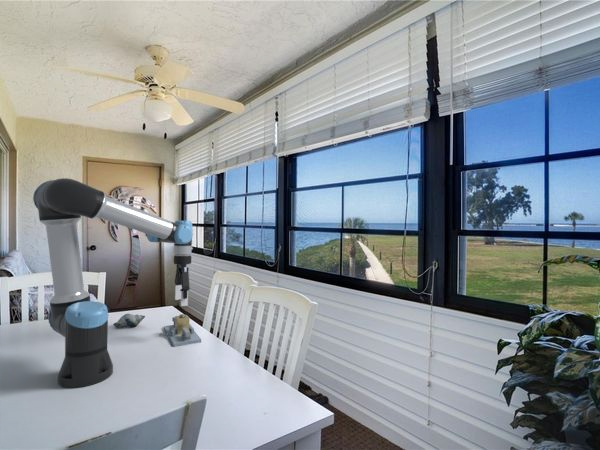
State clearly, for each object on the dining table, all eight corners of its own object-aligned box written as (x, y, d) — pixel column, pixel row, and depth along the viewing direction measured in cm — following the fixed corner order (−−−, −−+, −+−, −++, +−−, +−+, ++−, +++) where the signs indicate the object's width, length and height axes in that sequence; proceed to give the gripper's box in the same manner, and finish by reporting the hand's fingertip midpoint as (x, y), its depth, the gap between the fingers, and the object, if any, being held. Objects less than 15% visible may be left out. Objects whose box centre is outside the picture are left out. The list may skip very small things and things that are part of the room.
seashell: (121, 328, 163) (143, 329, 162) (111, 326, 157) (134, 327, 155) (124, 314, 166) (147, 315, 164) (115, 312, 159) (138, 313, 157)
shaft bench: (201, 342, 142) (201, 330, 141) (173, 346, 136) (174, 334, 136) (187, 325, 164) (187, 315, 164) (163, 328, 158) (164, 318, 158)
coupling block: (189, 333, 149) (189, 315, 149) (177, 334, 147) (177, 317, 147) (186, 329, 153) (186, 312, 153) (175, 331, 151) (175, 314, 151)
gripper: (198, 257, 141) (196, 307, 141) (185, 252, 162) (184, 296, 162) (179, 257, 137) (177, 309, 137) (169, 252, 159) (167, 297, 158)
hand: (181, 302), depth 149 cm, fingers open, 13 cm apart
